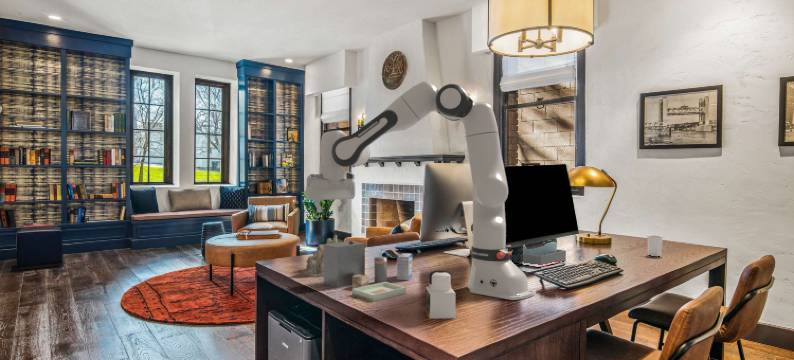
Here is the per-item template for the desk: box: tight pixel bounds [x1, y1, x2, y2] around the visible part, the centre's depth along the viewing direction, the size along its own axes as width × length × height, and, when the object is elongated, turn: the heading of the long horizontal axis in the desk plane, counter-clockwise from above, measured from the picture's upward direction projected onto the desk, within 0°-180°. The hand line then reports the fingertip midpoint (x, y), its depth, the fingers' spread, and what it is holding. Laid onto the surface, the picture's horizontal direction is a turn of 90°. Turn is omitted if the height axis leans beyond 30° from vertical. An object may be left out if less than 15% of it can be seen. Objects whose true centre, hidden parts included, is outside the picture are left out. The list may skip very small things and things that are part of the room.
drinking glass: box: [646, 234, 664, 256], centre depth 218 cm, size 7×7×10 cm
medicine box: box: [396, 252, 413, 281], centre depth 168 cm, size 8×4×9 cm, turn 168°
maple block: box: [351, 274, 370, 289], centre depth 153 cm, size 4×4×4 cm
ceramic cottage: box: [304, 234, 339, 278], centre depth 177 cm, size 16×16×15 cm
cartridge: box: [373, 256, 388, 284], centre depth 159 cm, size 4×4×9 cm
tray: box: [351, 281, 407, 303], centre depth 145 cm, size 10×14×2 cm
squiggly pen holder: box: [523, 241, 558, 256], centre depth 201 cm, size 18×10×9 cm, turn 102°
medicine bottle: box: [425, 270, 456, 320], centre depth 124 cm, size 7×7×12 cm
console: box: [323, 240, 366, 289], centre depth 159 cm, size 9×12×15 cm
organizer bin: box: [523, 248, 567, 265], centre depth 199 cm, size 14×22×5 cm, turn 133°
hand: (330, 211), depth 165 cm, fingers open, 8 cm apart
